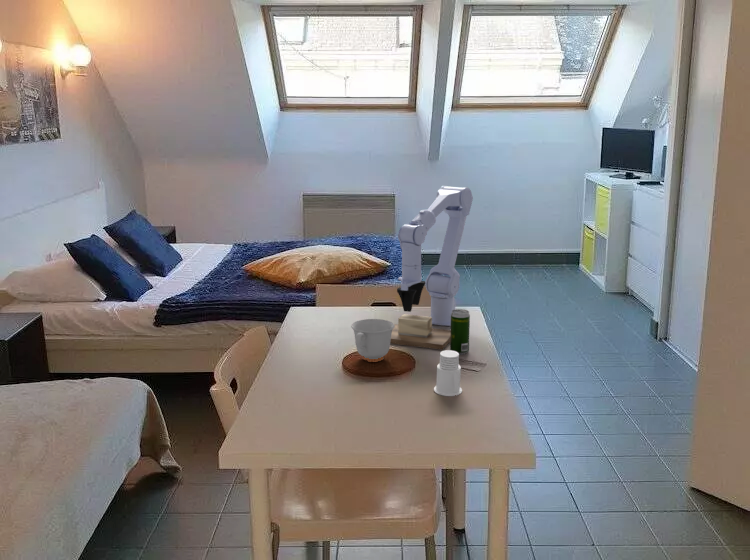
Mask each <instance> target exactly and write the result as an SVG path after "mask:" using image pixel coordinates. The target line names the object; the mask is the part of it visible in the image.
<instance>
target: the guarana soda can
mask: <svg viewBox="0 0 750 560" xmlns="http://www.w3.org/2000/svg"><path fill="white" fill-rule="evenodd" d="M470 320H471V314H470V311H469V310H467V309H464V308H463V309H461V308H458V309H456V308H455V310H452V313H451V326H450V330H451V334H450V342H449V346H450V347H449V350H452V351H456V352H458V353H459V356H463V355H466V354H468V353H469V351H470V327H471V326H470V324H471V323H470V322H471V321H470Z"/></svg>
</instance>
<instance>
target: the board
mask: <svg viewBox="0 0 750 560" xmlns="http://www.w3.org/2000/svg"><path fill="white" fill-rule="evenodd" d="M393 324H394V325H395V327H394V328H393V329H392V334H391V341H390V345H391V344H392V345H402V346H409V347H418V348H424V349H425V348H426V349H432V350H433V349H434V350H441V351H444V349H445V348H446V347H447V346H448V345H449V344H450V334H451V329H443V328H433V327H432V333H431V334H430V335H429V336H428V337H427V338H425V337H416V336H408V335H399V334H398V323H393Z"/></svg>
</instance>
